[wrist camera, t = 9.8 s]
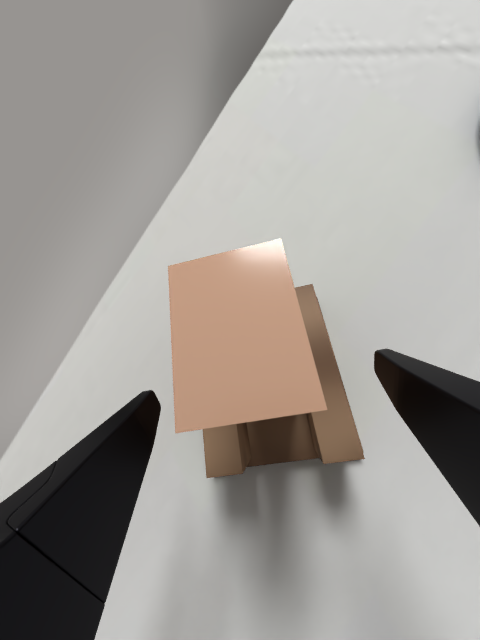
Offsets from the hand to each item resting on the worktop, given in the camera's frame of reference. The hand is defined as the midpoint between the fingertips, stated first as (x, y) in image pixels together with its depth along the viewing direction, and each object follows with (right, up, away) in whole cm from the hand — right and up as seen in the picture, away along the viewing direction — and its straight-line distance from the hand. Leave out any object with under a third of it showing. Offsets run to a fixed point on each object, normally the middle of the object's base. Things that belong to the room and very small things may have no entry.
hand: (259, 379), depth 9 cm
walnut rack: (+1, -2, +8) cm, 9 cm away
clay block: (+1, -2, +8) cm, 8 cm away
